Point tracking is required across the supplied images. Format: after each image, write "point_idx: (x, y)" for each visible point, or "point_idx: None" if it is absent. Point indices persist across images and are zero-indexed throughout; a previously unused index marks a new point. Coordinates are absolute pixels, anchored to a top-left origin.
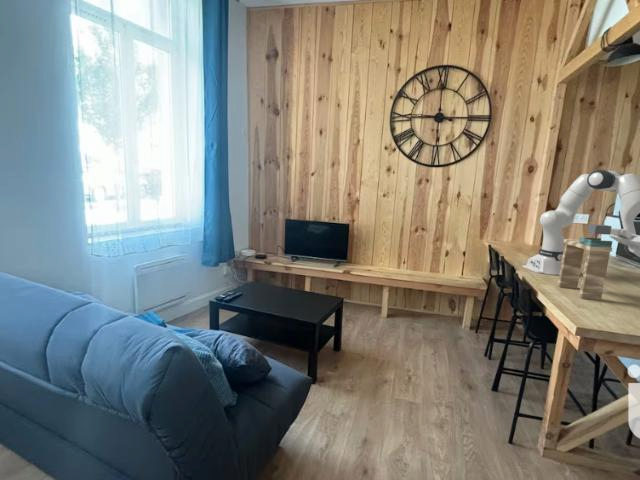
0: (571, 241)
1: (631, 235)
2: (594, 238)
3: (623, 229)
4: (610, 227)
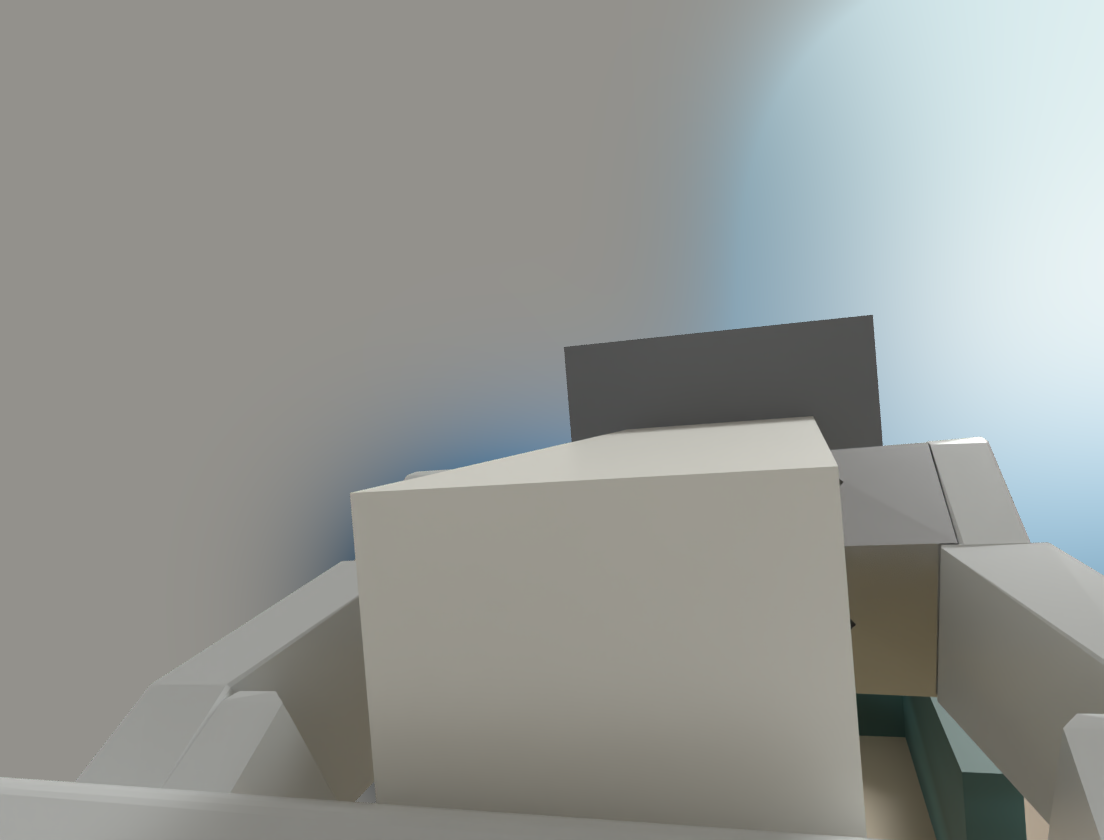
0: None
1: (132, 780)
2: (931, 701)
3: (575, 459)
4: (574, 382)
